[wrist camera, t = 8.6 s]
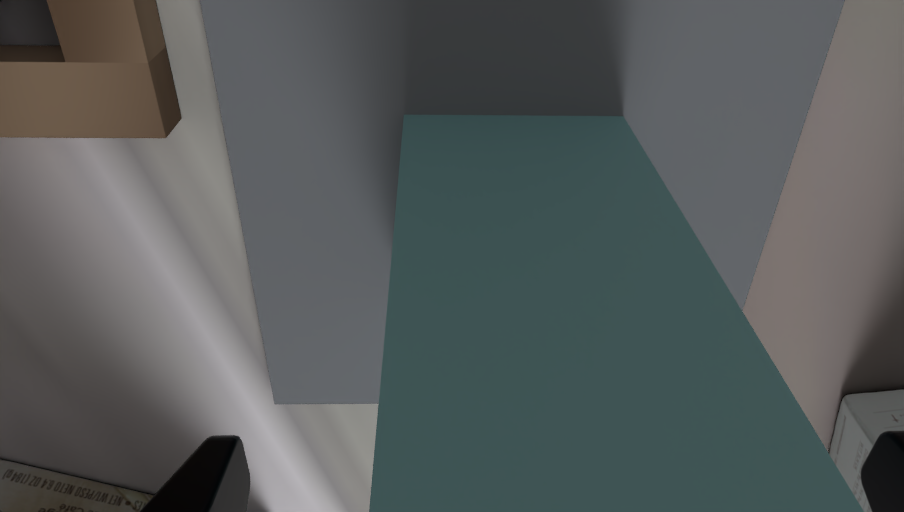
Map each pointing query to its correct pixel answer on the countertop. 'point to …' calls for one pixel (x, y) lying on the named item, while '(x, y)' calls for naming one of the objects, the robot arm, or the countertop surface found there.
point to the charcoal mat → (483, 93)
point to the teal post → (571, 339)
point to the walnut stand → (91, 75)
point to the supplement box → (863, 433)
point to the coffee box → (61, 492)
